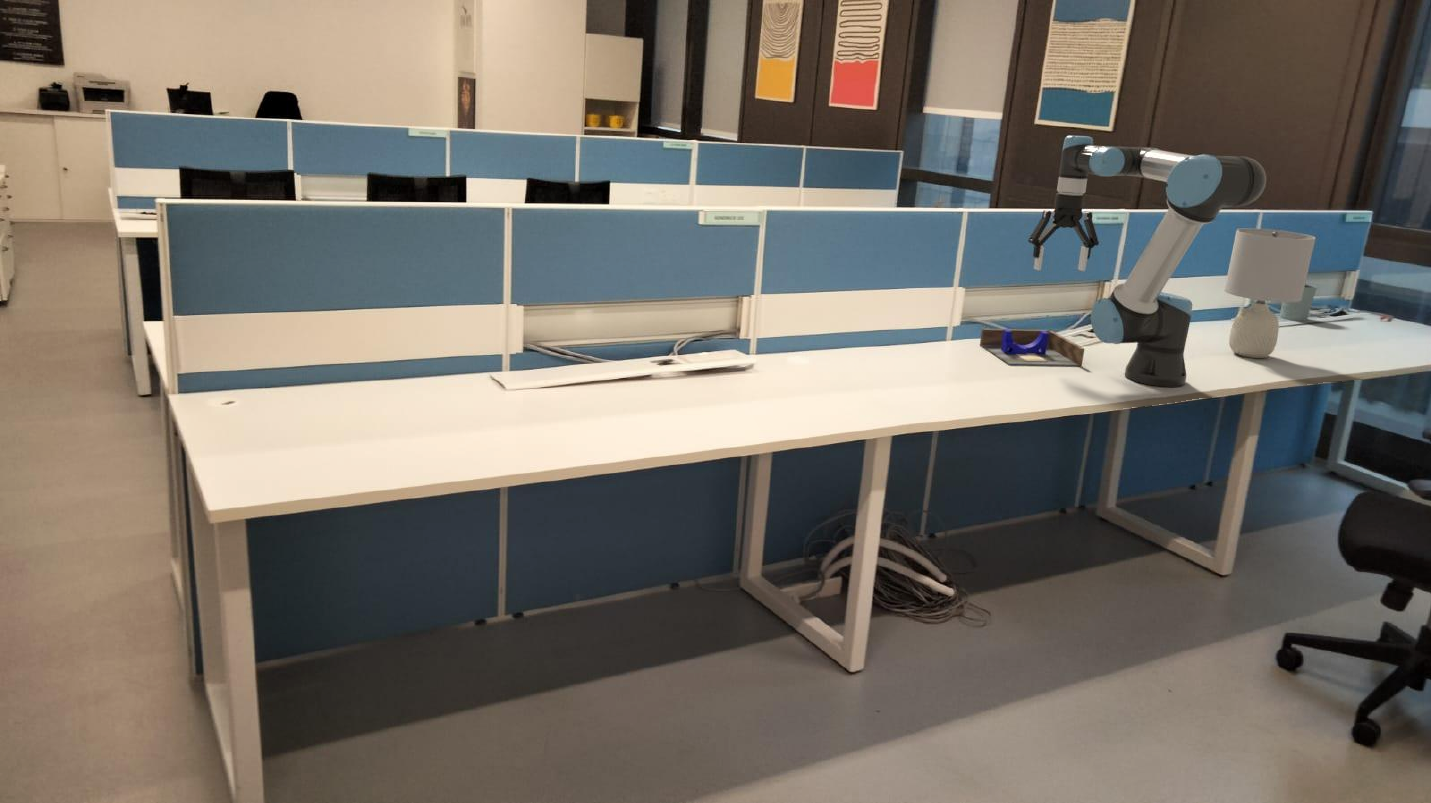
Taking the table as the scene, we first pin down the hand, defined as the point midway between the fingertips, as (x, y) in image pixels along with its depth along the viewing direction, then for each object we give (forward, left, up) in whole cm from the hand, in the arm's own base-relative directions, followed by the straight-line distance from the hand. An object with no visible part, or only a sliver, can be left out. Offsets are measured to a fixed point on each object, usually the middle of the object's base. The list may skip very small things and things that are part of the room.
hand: (1059, 270), depth 293 cm
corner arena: (-4, +8, -24) cm, 26 cm away
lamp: (+1, -64, -24) cm, 69 cm away
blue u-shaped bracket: (-3, +8, -24) cm, 25 cm away
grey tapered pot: (+53, -116, -24) cm, 130 cm away
